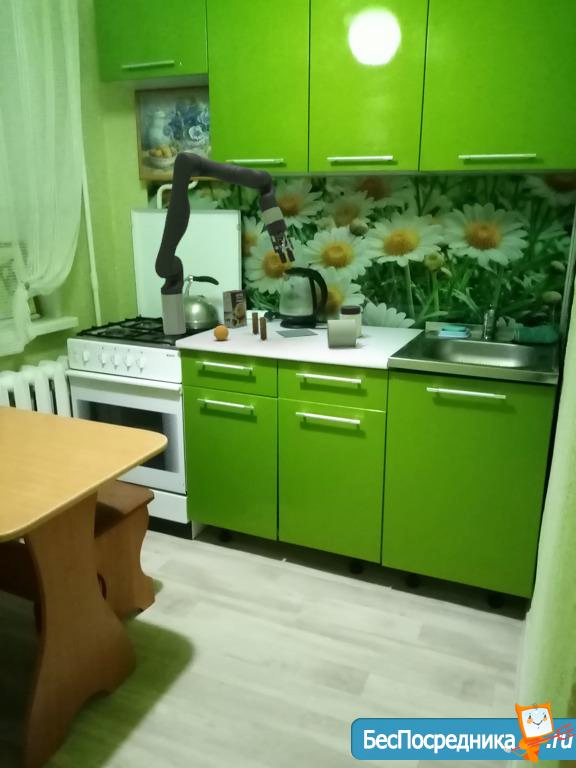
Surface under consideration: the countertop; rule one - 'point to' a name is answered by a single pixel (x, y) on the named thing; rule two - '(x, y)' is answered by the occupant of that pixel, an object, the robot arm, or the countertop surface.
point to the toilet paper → (341, 333)
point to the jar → (352, 316)
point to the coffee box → (234, 308)
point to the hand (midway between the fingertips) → (288, 262)
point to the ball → (221, 332)
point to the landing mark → (296, 333)
